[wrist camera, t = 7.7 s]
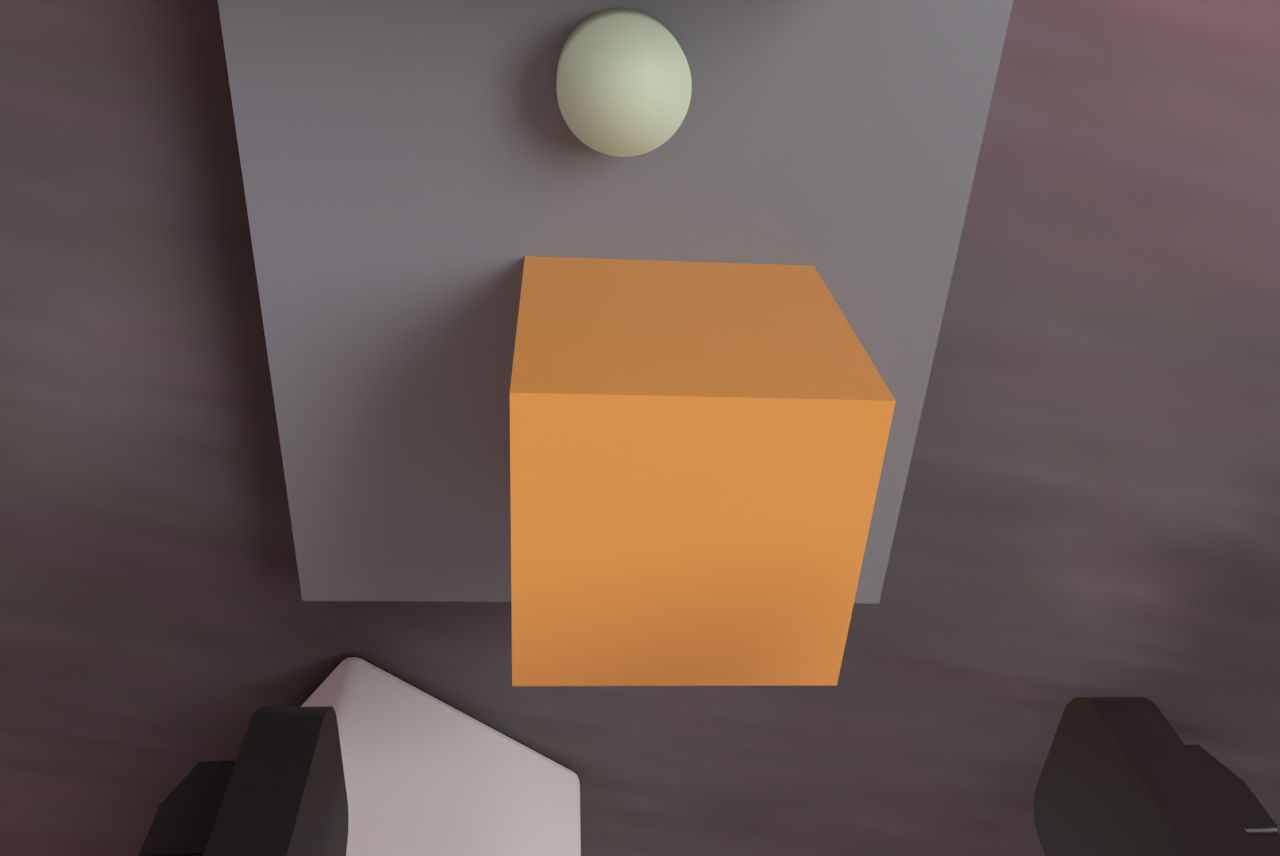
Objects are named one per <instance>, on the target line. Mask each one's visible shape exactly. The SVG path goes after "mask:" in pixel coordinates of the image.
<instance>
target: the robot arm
mask: <svg viewBox="0 0 1280 856" xmlns="http://www.w3.org/2000/svg"><path fill="white" fill-rule="evenodd" d="M1034 818H1035V825H1036V830H1037V834H1038V838H1039V840H1040V843H1041V846H1042V848H1043V851H1044V853H1045V855H1046V856H1280V835H1279V834H1278V831H1277V825H1276V824H1275V822H1274V821H1273V820H1272V818H1271V817H1270V816H1269V814H1268V813H1267V812H1266V810H1265V809H1264V808H1263V806H1262V805H1261V804H1260V802H1259V801H1258V800H1257V798H1256V797H1255V796H1254V794H1253V793H1252V792H1251V790H1250V789H1249V788H1248V786H1247V785H1246V784H1245V782H1244V781H1242V780H1241V779H1240V778H1239V777H1237V776H1236V775H1235V774H1234V773H1233V772H1231V771H1230V770H1229V769H1228V768H1226V767H1225V766H1224V765H1223V764H1221V763H1220V762H1219V761H1218V760H1216V759H1215V758H1214V757H1213V756H1212V755H1210V754H1209V753H1208V752H1207V751H1205V750H1204V749H1203V748H1202V747H1200V746H1199V745H1184V743H1183V742H1182V741H1181V739H1180V738H1179V736H1178V735H1177V734H1176V732H1175V731H1174V729H1173V728H1172V727H1171V725H1170V724H1169V722H1168V721H1167V720H1166V718H1165V717H1164V715H1163V714H1162V713H1161V711H1160V710H1159V709H1158V708H1157V706H1156V705H1155V704H1154V703H1153V702H1151V701H1150V700H1148V699H1147V698H1144V697H1088V698H1074V699H1072V700H1071V701H1070V702H1069V703H1068V704H1067V706H1066V708H1065V710H1064V712H1063V715H1062V718H1061V721H1060V724H1059V726H1058V729H1057V732H1056V735H1055V737H1054V740H1053V743H1052V746H1051V748H1050V751H1049V754H1048V757H1047V760H1046V762H1045V765H1044V768H1043V771H1042V773H1041V776H1040V779H1039V782H1038V784H1037V787H1036V791H1035V797H1034ZM347 840H348V800H347V792H346V785H345V777H344V769H343V762H342V754H341V746H340V739H339V731H338V723H337V717H336V713H335V710H334V708H333V707H332V706H323V707H260V708H258V709H257V710H256V712H255V713H254V715H253V717H252V719H251V722H250V724H249V727H248V730H247V733H246V736H245V738H244V741H243V744H242V747H241V750H240V753H239V755H238V758H237V761H214V762H199V763H198V764H197V765H196V766H195V767H194V768H193V769H192V771H191V772H190V773H189V774H188V775H187V776H186V777H185V778H184V779H183V780H182V781H181V783H180V784H179V785H178V786H177V787H176V788H175V789H174V790H173V791H172V792H171V794H170V795H169V796H168V797H167V798H166V799H165V800H164V801H163V802H162V803H161V804H160V806H159V809H158V811H157V814H156V816H155V818H154V821H153V823H152V826H151V828H150V830H149V833H148V835H147V838H146V840H145V842H144V845H143V847H142V850H141V852H140V854H139V856H346V850H347Z"/></svg>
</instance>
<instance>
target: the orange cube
mask: <svg viewBox="0 0 1280 856" xmlns="http://www.w3.org/2000/svg"><path fill="white" fill-rule="evenodd" d="M895 402H896V400H895V399H894V397H893V395H892V394H891V392H890V390H889V389H888V387H887V385H886V384H885V382H884V380H883V379H882V377H881V375H880V374H879V372H878V371H877V369H876V367H875V366H874V364H873V362H872V361H871V359H870V357H869V356H868V354H867V352H866V351H865V349H864V347H863V346H862V344H861V343H860V341H859V339H858V338H857V336H856V334H855V333H854V331H853V329H852V328H851V326H850V324H849V323H848V321H847V319H846V318H845V316H844V314H843V313H842V311H841V310H840V308H839V306H838V305H837V303H836V301H835V300H834V298H833V296H832V295H831V293H830V291H829V290H828V288H827V286H826V285H825V283H824V281H823V280H822V278H821V277H820V275H819V273H818V272H817V270H816V268H815V267H814V266H810V265H779V264H749V263H718V262H687V261H656V260H625V259H594V258H564V257H533V256H525V259H524V268H523V277H522V286H521V295H520V304H519V313H518V322H517V331H516V340H515V349H514V358H513V367H512V376H511V385H510V493H511V604H512V686H772V685H837V682H838V677H839V673H840V668H841V663H842V658H843V653H844V648H845V644H846V639H847V634H848V629H849V624H850V620H851V615H852V610H853V605H854V600H855V595H856V591H857V586H858V581H859V576H860V571H861V566H862V562H863V557H864V552H865V547H866V542H867V538H868V533H869V528H870V523H871V518H872V513H873V509H874V504H875V499H876V494H877V489H878V484H879V480H880V475H881V470H882V465H883V460H884V456H885V451H886V446H887V441H888V436H889V431H890V427H891V422H892V417H893V412H894V407H895Z"/></svg>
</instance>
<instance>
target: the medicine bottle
mask: <svg viewBox="0 0 1280 856" xmlns="http://www.w3.org/2000/svg"><path fill="white" fill-rule="evenodd" d="M323 706H332V707H333V708H334V710H335V713H336V717H337V723H338V731H339V739H340V746H341V754H342V762H343V769H344V777H345V785H346V792H347V800H348V840H347V850H346V856H581V837H580V783H579V779H578V776H577V775H576V774H575V773H574V772H573V771H571V770H569V769H567V768H566V767H564V766H562V765H560V764H558V763H556V762H554V761H552V760H551V759H549V758H547V757H545V756H543V755H541V754H539V753H537V752H536V751H534V750H532V749H530V748H528V747H526V746H524V745H522V744H521V743H519V742H517V741H515V740H513V739H511V738H509V737H507V736H506V735H504V734H502V733H500V732H498V731H496V730H494V729H492V728H491V727H489V726H487V725H485V724H483V723H481V722H479V721H477V720H476V719H474V718H472V717H470V716H468V715H466V714H464V713H462V712H461V711H459V710H457V709H455V708H453V707H451V706H449V705H447V704H446V703H444V702H442V701H440V700H438V699H436V698H434V697H432V696H431V695H429V694H427V693H425V692H423V691H421V690H419V689H417V688H416V687H414V686H412V685H410V684H408V683H406V682H404V681H402V680H401V679H399V678H397V677H395V676H393V675H391V674H389V673H387V672H386V671H384V670H382V669H380V668H378V667H376V666H374V665H372V664H371V663H369V662H367V661H365V660H363V659H361V658H357V657H348V658H346V659H345V660H343V661H342V662H341V663H340V664H339V665H338V666H337V667H336V668H335V669H334V671H333V672H332V673H331V674H330V675H329V676H328V677H327V678H326V679H325V680H324V681H323V683H322V684H321V685H320V686H319V687H318V688H317V689H316V690H315V691H314V692H313V694H312V695H311V696H310V697H309V698H308V699H307V700H306V701H305V702H304V703H303V704H302V706H301V707H323Z"/></svg>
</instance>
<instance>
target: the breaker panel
mask: <svg viewBox="0 0 1280 856" xmlns="http://www.w3.org/2000/svg"><path fill="white" fill-rule="evenodd" d="M1013 1H1014V0H218V7H219V14H220V21H221V28H222V35H223V42H224V49H225V57H226V64H227V71H228V78H229V85H230V92H231V99H232V106H233V113H234V120H235V127H236V135H237V142H238V149H239V156H240V163H241V170H242V177H243V184H244V191H245V198H246V205H247V213H248V220H249V227H250V234H251V241H252V248H253V255H254V262H255V269H256V276H257V283H258V291H259V298H260V305H261V312H262V319H263V326H264V333H265V340H266V347H267V354H268V362H269V369H270V376H271V383H272V390H273V397H274V404H275V411H276V418H277V425H278V432H279V440H280V447H281V454H282V461H283V468H284V475H285V482H286V489H287V496H288V503H289V510H290V518H291V525H292V532H293V539H294V546H295V553H296V560H297V567H298V574H299V581H300V589H301V596H302V601H410V602H511V493H510V385H511V376H512V367H513V358H514V349H515V340H516V331H517V322H518V313H519V304H520V295H521V286H522V277H523V268H524V259H525V256H533V257H564V258H594V259H625V260H656V261H687V262H718V263H749V264H779V265H810V266H814V267H815V268H816V270H817V272H818V273H819V275H820V277H821V278H822V280H823V281H824V283H825V285H826V286H827V288H828V290H829V291H830V293H831V295H832V296H833V298H834V300H835V301H836V303H837V305H838V306H839V308H840V310H841V311H842V313H843V314H844V316H845V318H846V319H847V321H848V323H849V324H850V326H851V328H852V329H853V331H854V333H855V334H856V336H857V338H858V339H859V341H860V343H861V344H862V346H863V347H864V349H865V351H866V352H867V354H868V356H869V357H870V359H871V361H872V362H873V364H874V366H875V367H876V369H877V371H878V372H879V374H880V375H881V377H882V379H883V380H884V382H885V384H886V385H887V387H888V389H889V390H890V392H891V394H892V395H893V397H894V399H895V400H896V402H895V407H894V412H893V417H892V422H891V427H890V431H889V436H888V441H887V446H886V451H885V456H884V460H883V465H882V470H881V475H880V480H879V484H878V489H877V494H876V499H875V504H874V509H873V513H872V518H871V523H870V528H869V533H868V538H867V542H866V547H865V552H864V557H863V562H862V566H861V571H860V576H859V581H858V586H857V591H856V595H855V600H854V603H879V601H880V596H881V592H882V588H883V583H884V579H885V574H886V570H887V565H888V561H889V556H890V552H891V547H892V543H893V538H894V534H895V529H896V525H897V520H898V516H899V511H900V507H901V502H902V498H903V493H904V489H905V484H906V480H907V475H908V471H909V467H910V462H911V458H912V453H913V449H914V444H915V440H916V435H917V431H918V426H919V422H920V417H921V413H922V408H923V404H924V399H925V395H926V390H927V386H928V381H929V377H930V372H931V368H932V363H933V359H934V355H935V350H936V346H937V341H938V337H939V332H940V328H941V323H942V319H943V314H944V310H945V305H946V301H947V296H948V292H949V287H950V283H951V278H952V274H953V269H954V265H955V260H956V256H957V251H958V247H959V242H960V238H961V234H962V229H963V225H964V220H965V216H966V211H967V207H968V202H969V198H970V193H971V189H972V184H973V180H974V175H975V171H976V166H977V162H978V157H979V153H980V148H981V144H982V139H983V135H984V130H985V126H986V122H987V117H988V113H989V108H990V104H991V99H992V95H993V90H994V86H995V81H996V77H997V72H998V68H999V63H1000V59H1001V54H1002V50H1003V45H1004V41H1005V36H1006V32H1007V27H1008V23H1009V18H1010V14H1011V9H1012V5H1013Z"/></svg>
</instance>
